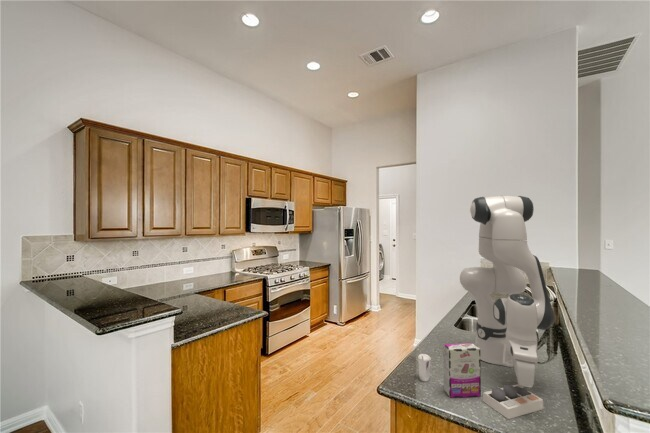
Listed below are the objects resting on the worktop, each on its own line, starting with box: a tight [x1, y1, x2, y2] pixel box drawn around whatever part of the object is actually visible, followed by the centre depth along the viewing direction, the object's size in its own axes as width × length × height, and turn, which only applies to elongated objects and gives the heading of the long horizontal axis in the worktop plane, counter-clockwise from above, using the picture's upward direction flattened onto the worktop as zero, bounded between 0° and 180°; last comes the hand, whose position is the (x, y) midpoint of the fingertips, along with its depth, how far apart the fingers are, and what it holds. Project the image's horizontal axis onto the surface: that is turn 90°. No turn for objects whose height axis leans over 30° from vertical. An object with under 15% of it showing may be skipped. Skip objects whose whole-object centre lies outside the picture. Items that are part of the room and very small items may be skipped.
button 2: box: [515, 386, 529, 396], centre depth 98 cm, size 4×4×3 cm
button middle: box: [502, 384, 517, 399], centre depth 96 cm, size 4×4×3 cm
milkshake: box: [417, 353, 432, 382], centre depth 110 cm, size 4×5×10 cm
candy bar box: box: [442, 342, 482, 399], centre depth 102 cm, size 11×5×16 cm, turn 94°
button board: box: [482, 383, 544, 420], centre depth 95 cm, size 15×9×3 cm, turn 109°
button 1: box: [491, 387, 505, 402], centre depth 95 cm, size 4×4×3 cm
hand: (520, 385), depth 98 cm, fingers closed
